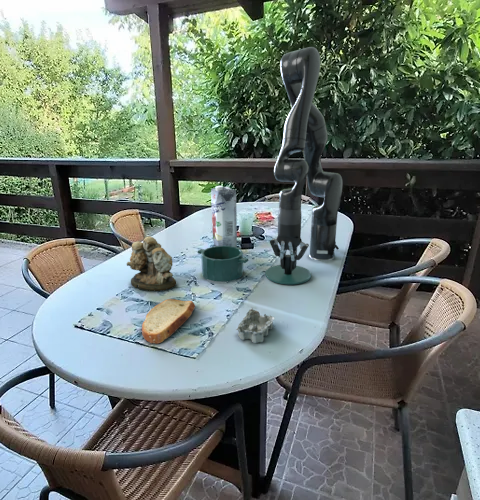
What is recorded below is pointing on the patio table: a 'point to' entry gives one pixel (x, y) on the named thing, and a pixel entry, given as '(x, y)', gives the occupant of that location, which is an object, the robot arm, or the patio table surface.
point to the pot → (222, 263)
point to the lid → (288, 273)
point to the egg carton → (254, 326)
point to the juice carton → (224, 216)
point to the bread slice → (166, 319)
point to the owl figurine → (151, 266)
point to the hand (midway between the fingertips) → (288, 268)
